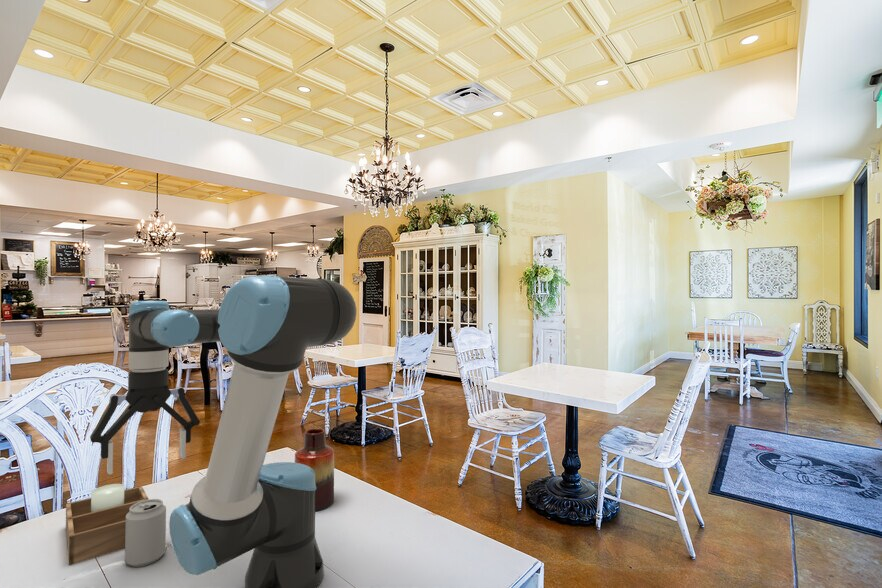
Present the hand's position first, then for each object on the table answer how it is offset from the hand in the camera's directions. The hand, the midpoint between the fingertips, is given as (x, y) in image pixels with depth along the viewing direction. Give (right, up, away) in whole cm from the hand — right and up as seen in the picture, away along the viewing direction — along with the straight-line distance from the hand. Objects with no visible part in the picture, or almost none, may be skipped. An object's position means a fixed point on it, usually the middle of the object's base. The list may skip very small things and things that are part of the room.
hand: (147, 464), depth 98 cm
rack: (-15, -21, +8) cm, 26 cm away
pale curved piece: (-18, -20, +11) cm, 29 cm away
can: (0, -21, -1) cm, 21 cm away
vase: (+30, -21, +26) cm, 45 cm away
